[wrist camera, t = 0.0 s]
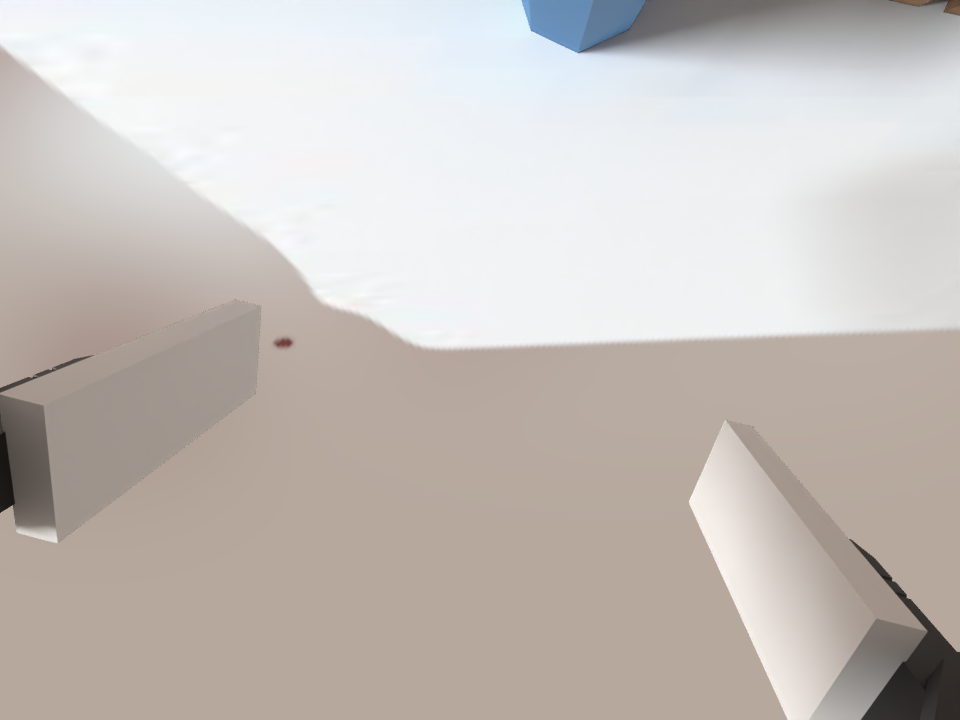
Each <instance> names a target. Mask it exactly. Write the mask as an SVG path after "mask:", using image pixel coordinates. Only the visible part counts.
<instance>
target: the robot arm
mask: <svg viewBox="0 0 960 720" xmlns="http://www.w3.org/2000/svg"><path fill="white" fill-rule="evenodd" d="M260 320H261V306H260V305H256V304H252V303H248V302H244V301H240V300H236V299H235V300H232V301H230V302H227V303H225V304H222V305H220V306H217V307H215V308H212V309H210V310H207V311H205V312H202V313H200V314H197V315H195V316H192V317H190V318H187V319H185V320H182V321H180V322H177V323H174V324H172V325H169V326H167V327H164V328H162V329H159V330H157V331H154V332H152V333H149V334H147V335H144V336H142V337H139V338H137V339H134V340H132V341H129V342H127V343H124V344H122V345H119V346H117V347H114V348H112V349H109V350H107V351H104V352H102V353H99V354H96V355H93V356H87V357H83V358H77V359H74V360H71V361H69V362H66V363H64V364H61V365H58V366H56V367H53V368H52V370H45V371H43V372H40V373H38V374H35V375H34V376H33V378H30V377H27V378H25V379H22V380H20V381H17V382H15V383H12V384H9V385H7V386H4V387H2V388H0V513H1V512H2V511H4V510H5V509H7V508H9V507H10V506H12V505H13V509H14V516H15V524H16V531H17V533H20V534H24V535H28V536H32V537H36V538H39V539H43V540H47V541H51V542H54V543H59V542H60V541H62V540H63V539H64V538H66V537H67V536H68V535H70V534H71V533H72V532H73V531H75V530H76V529H77V528H79V527H80V526H81V525H83V524H84V523H85V522H87V521H88V520H89V519H91V518H92V517H93V516H94V515H96V514H97V513H99V512H100V511H101V510H102V509H104V508H105V507H107V506H108V505H109V504H110V503H112V502H113V501H114V500H116V499H117V498H118V497H120V496H121V495H122V494H124V493H125V492H126V491H127V490H129V489H130V488H132V487H133V486H134V485H135V484H137V483H138V482H139V481H141V480H142V479H144V478H145V477H146V476H148V475H149V474H150V473H151V472H153V471H154V470H155V469H157V468H158V467H159V466H161V465H162V464H163V463H165V462H166V461H167V460H169V459H170V458H171V457H173V456H174V455H175V454H177V453H178V452H179V451H181V450H182V449H183V448H185V447H186V446H187V445H189V444H190V443H191V442H192V441H194V440H195V439H196V438H198V437H199V436H200V435H201V434H203V433H204V432H206V431H207V430H208V429H210V428H211V427H212V426H214V425H215V424H216V423H217V422H219V421H220V420H222V419H223V418H224V417H225V416H227V415H228V414H229V413H231V412H232V411H233V410H235V409H236V408H237V407H239V406H240V405H241V404H243V403H244V402H245V401H247V400H248V399H249V398H251V397H252V396H253V395H255V394H256V384H257V368H258V352H259V336H260ZM689 504H690V506H691V508H692V511H693V513H694V515H695V517H696V519H697V522H698V524H699V526H700V528H701V530H702V532H703V534H704V537H705V539H706V541H707V543H708V546H709V548H710V550H711V552H712V554H713V557H714V559H715V561H716V563H717V565H718V568H719V570H720V572H721V574H722V576H723V579H724V581H725V583H726V585H727V587H728V590H729V592H730V594H731V596H732V598H733V600H734V603H735V605H736V607H737V609H738V612H739V614H740V616H741V618H742V620H743V623H744V624H745V627H746V629H747V631H748V634H749V636H750V638H751V640H752V642H753V644H754V647H755V649H756V651H757V653H758V655H759V657H760V660H761V662H762V664H763V666H764V669H765V671H766V673H767V675H768V677H769V680H770V682H771V684H772V686H773V688H774V691H775V693H776V694H777V697H778V699H779V702H780V704H781V706H782V708H783V710H784V713H785V715H786V717H787V719H788V720H960V652H956V650H955V649H954V648H953V647H952V646H951V645H950V644H949V643H948V641H947V640H946V639H945V638H944V637H943V636H942V635H941V633H940V632H939V631H938V630H937V629H936V628H935V627H934V625H933V624H932V623H931V622H930V621H929V620H928V618H927V617H926V616H925V615H924V614H923V613H922V612H921V611H920V609H919V608H918V607H917V606H916V605H915V604H914V603H913V601H912V600H911V599H908V598H906V593H905V592H904V591H903V590H902V589H901V588H900V587H899V585H898V584H897V583H896V582H893V581H892V577H890V575H889V574H888V573H887V572H886V571H885V569H884V568H883V567H882V566H881V565H880V564H879V563H878V561H876V559H875V558H874V557H872V556H871V555H870V554H868V553H867V552H866V551H865V550H864V549H862V548H861V547H860V546H858V545H857V544H856V543H855V542H853V541H852V540H851V539H848V537H847V536H846V535H845V534H844V533H843V531H842V530H841V529H840V528H839V527H838V526H837V524H836V523H835V522H834V521H833V520H832V519H831V517H830V516H829V515H828V514H827V513H826V512H825V510H824V509H823V508H822V507H821V506H820V505H819V503H818V502H817V501H816V500H815V499H814V497H813V496H812V495H811V494H810V493H809V492H808V490H807V489H806V488H805V487H804V486H803V485H802V483H800V481H799V480H798V479H797V478H796V476H795V475H794V474H793V473H792V472H791V471H790V469H789V468H788V467H787V466H786V465H785V463H784V462H783V461H782V460H781V459H780V458H779V456H778V455H777V454H776V453H775V452H774V451H773V449H772V448H771V447H770V446H769V445H768V444H767V442H766V441H765V440H764V439H763V438H762V437H761V435H760V434H759V433H758V432H757V431H756V430H755V429H754V427H753V426H749V425H745V424H740V423H736V422H732V421H728V420H725V421H724V423H723V426H722V428H721V430H720V433H719V435H718V437H717V439H716V442H715V444H714V446H713V449H712V451H711V453H710V456H709V458H708V460H707V462H706V464H705V467H704V469H703V471H702V474H701V476H700V478H699V480H698V482H697V485H696V487H695V489H694V492H693V494H692V496H691V498H690V501H689Z"/></svg>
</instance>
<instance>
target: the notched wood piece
mask: <svg viewBox="0 0 960 720" xmlns="http://www.w3.org/2000/svg"><path fill="white" fill-rule="evenodd" d="M891 1H895V2H900V3H905V4H909V5H914V6H918V7H919V6H921V5H923V4H925V3H928V2H930V1H932V0H891ZM944 12H946V13H951V14H955V15H960V0H949V2H948V4H947V6H946V8H945V10H944Z"/></svg>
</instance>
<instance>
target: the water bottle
mask: <svg viewBox="0 0 960 720" xmlns="http://www.w3.org/2000/svg"><path fill="white" fill-rule="evenodd" d="M645 2H646V0H522V3H523V6H524V10H525V13H526V16H527V19H528V22H529V25H530V29H531V31H533V32H535V33H537V34H539V35H541V36H543V37H545V38H548V39H550V40H552V41H554V42H556V43H558V44H560V45H562V46H564V47H566V48H569V49H571V50H573V51H575V52H577V53H579V52H581V51H583V50H586V49H588V48H590V47H592V46H594V45H596V44H599V43H601V42H603V41H605V40H607V39H609V38H612V37H614V36H616V35H618V34H620V33H623V32H625V31H627V30H629V29H630V27H631V25H632V24H633V22H634V20H635V18H636V17H637V15H638V13H639V12H640V10H641V8H642V7H643V5H644V3H645Z"/></svg>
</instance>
